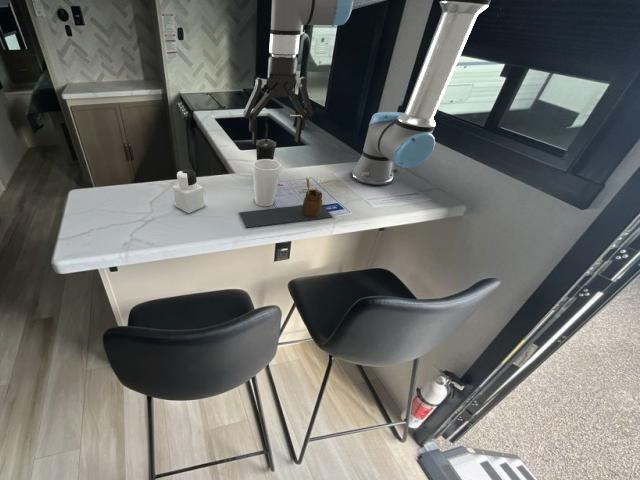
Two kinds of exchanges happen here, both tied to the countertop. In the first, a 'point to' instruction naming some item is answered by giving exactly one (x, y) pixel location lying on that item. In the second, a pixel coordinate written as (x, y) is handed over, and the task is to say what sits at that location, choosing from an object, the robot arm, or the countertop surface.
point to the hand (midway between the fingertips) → (275, 142)
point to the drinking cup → (265, 148)
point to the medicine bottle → (188, 192)
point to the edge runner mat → (279, 216)
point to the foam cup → (265, 180)
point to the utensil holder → (312, 201)
